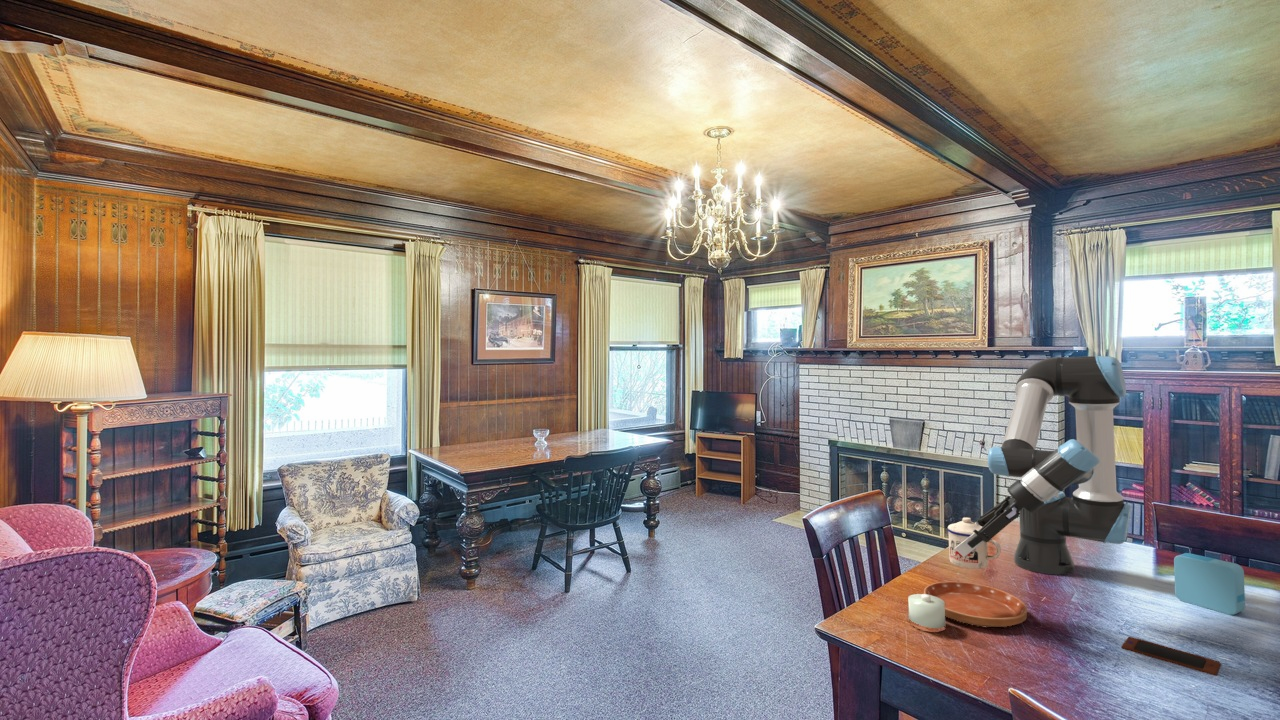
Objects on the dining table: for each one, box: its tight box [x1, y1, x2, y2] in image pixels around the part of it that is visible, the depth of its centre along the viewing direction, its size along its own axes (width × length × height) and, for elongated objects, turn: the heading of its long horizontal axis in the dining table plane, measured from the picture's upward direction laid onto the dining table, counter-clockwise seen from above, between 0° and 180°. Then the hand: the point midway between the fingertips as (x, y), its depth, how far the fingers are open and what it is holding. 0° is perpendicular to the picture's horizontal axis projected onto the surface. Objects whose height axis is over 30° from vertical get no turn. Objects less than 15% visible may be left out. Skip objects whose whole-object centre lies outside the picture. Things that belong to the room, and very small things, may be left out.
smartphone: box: [1120, 636, 1222, 677], centre depth 122 cm, size 7×1×15 cm
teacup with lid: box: [946, 517, 1002, 570], centre depth 145 cm, size 12×9×12 cm
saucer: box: [923, 580, 1028, 628], centre depth 146 cm, size 23×23×4 cm
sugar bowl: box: [907, 593, 946, 628], centre depth 139 cm, size 8×8×7 cm
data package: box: [1173, 552, 1246, 616], centre depth 145 cm, size 12×4×12 cm, turn 24°
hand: (960, 546), depth 147 cm, fingers closed on teacup with lid, 9 cm apart
